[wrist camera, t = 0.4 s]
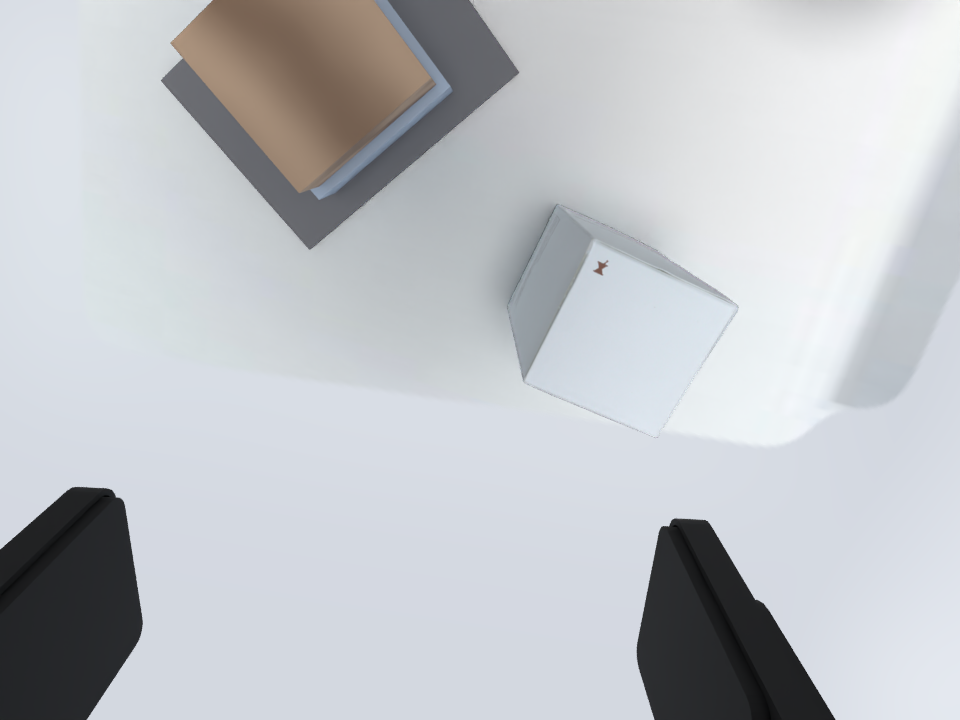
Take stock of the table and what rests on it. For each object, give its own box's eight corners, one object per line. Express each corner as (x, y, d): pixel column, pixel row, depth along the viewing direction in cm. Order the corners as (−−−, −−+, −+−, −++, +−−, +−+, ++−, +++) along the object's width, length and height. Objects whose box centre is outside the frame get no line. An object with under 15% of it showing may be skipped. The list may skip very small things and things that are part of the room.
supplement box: (503, 308, 40) (515, 382, 28) (556, 200, 37) (594, 231, 26) (604, 354, 41) (657, 444, 29) (662, 251, 39) (745, 304, 27)
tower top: (327, -64, 29) (305, -93, 25) (436, 84, 31) (431, 77, 27) (207, 54, 31) (170, 43, 27) (319, 186, 33) (299, 193, 29)
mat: (377, -131, 32) (376, -134, 31) (518, 72, 35) (518, 72, 35) (164, 80, 35) (160, 80, 35) (311, 248, 38) (309, 249, 38)
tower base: (345, -57, 32) (327, -81, 29) (453, 91, 35) (450, 86, 31) (224, 61, 34) (193, 52, 31) (335, 193, 37) (319, 199, 33)
